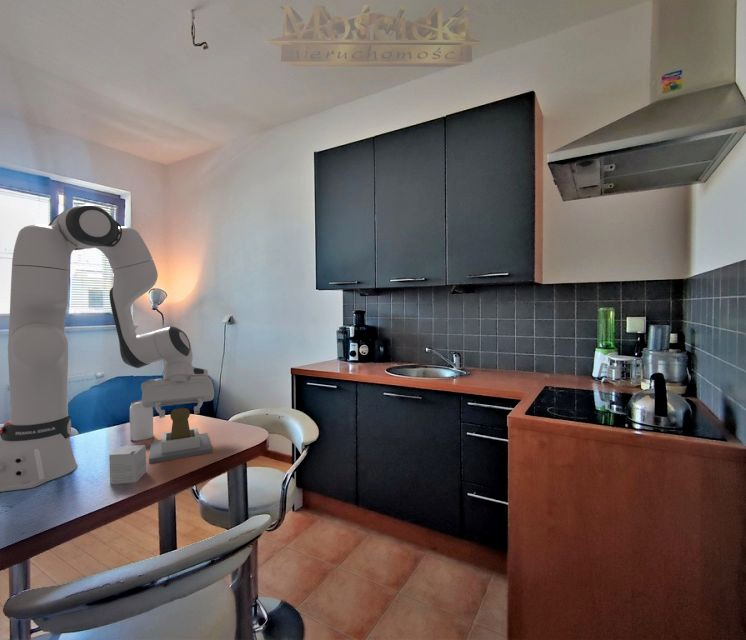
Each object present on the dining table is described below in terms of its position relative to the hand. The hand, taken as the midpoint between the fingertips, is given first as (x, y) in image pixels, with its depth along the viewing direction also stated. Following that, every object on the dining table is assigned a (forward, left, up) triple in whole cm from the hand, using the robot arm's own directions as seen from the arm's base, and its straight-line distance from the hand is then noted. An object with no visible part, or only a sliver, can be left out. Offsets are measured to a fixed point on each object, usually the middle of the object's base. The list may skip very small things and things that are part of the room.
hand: (179, 414), depth 115 cm
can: (-11, +16, -10) cm, 22 cm away
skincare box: (-12, -17, -10) cm, 23 cm away
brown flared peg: (0, -1, -9) cm, 9 cm away
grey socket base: (0, -1, -10) cm, 10 cm away
